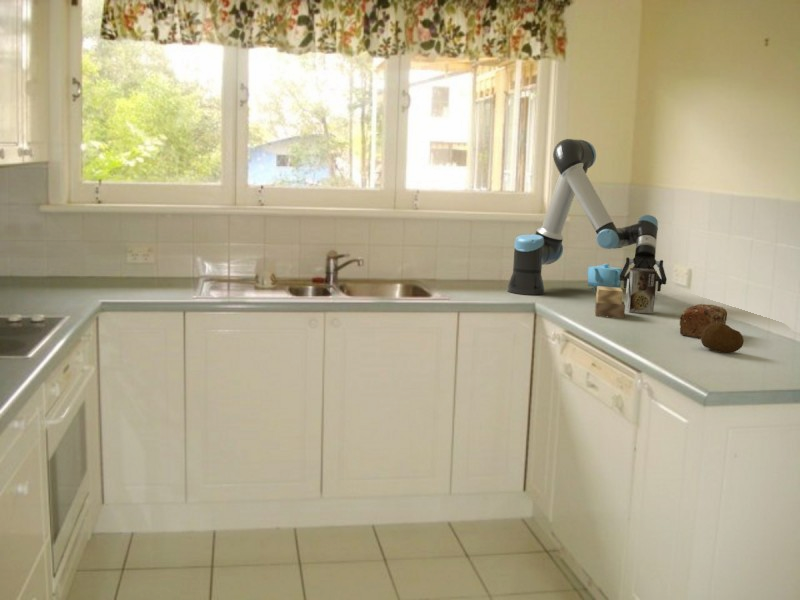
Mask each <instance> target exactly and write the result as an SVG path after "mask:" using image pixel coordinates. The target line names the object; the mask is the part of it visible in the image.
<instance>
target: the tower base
mask: <svg viewBox="0 0 800 600" xmlns="http://www.w3.org/2000/svg"><path fill="white" fill-rule="evenodd" d="M594 307H595V308H594V316H595V315H596V316H595V317H600V316H608V317H607V318H612V317H618V318H617V319H625V311H626V310H625V309H626V304H625V301H623V300H622V305H614V304H600V303H597V301H596V300H595V305H594Z"/></svg>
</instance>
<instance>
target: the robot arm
mask: <svg viewBox="0 0 800 600" xmlns="http://www.w3.org/2000/svg"><path fill="white" fill-rule="evenodd" d="M552 157H553V162H554V163H555V164H554V165H555V166H556V168H557V171H558V172H559V176H558V179H557V181H556V184H555V187H554V190H553V192H552V196H551V198H550V201H549V205H548V208H547V210H546V213H545V215H544V219H543V222H542V224H541V225H542V226H541V227H539V228H537V229H536V230H535V231H536V232H535V234H522V235H521V234H520V235H519V236H517V237H516V238H515V242H514V246H513V247H514V251H513V266H512V267H513V269H512V273H511V275H510V276H511V277H510V279H509V281H508V283H507V292H509V293H513V294H518V295H528V296H529V295H531V296H534V295H535V296H537V295H538V294H539V295H543V293H544V294H545V285H544V280H543V276H542V269H543V265H545V266H546V265H551V264H553V263H555V262H557V261H559V260H560V258H561V257H562V255H563V251H564V246H563V240H564V236H563V234H562V233H563V229H564V227H565V225H566V224H565V223H566V221H567V218H568V215H569V212H570V209H571V207H572V203H573V201H574V197H576V199H577V201H578V202H579V204H580V206H581V207H582V209H583V212H584V213H585V215H586V217H587V219H588V221H589V222H590V224H591V226H592V227H593V229H594V231H595V233H596V234H597V235H596V242H597V245H598V246H599V247H600V248H602V249H607V250H608V249H609V250H610V249H611V250H612V249H614V250H615V249H622V248H625V247H627V246H632V245H635V250H634V251H635V252H634V257H633V258H630V257H626V259H625V263H624V266H623V268H622V272H621V274H620V279H619V280H620V281H621V282H622V281H623V286H622V287H623V289H626V290H625V297H626V298H628V290H629V278H630V270H629V269H630V268H629V267H630V266H631V265H632V264H634V265H633V266H632V268H639V269H654V270H656V269H655V266H657V268H658V271H659V274H658V273H657V276H656V288H655V300H657V299H658V292H661V289H662V286H663V285H666V284H667V276H666V273H665V268H664V260H662V259H661V260H656V254H657V253H656V250H657V238H658V237H657V236H658V230H659V227H658V226H659V222H658V219H657V218H656V217H655V216H653V215H650V214H644V215H642V216H640V218H638V222H637V223H635V224H631V225H628V226H624V227H618V228H617V227H616V225H615V224H614V221H613V219H612V218H611V216H610V214H609V213H608V210H607V208H606V207H605V205H604V204H603V202H602V199H601V198H600V196H599V195H598V193H597V191H596V189H595V188H594V186H593V184H592V182H591V180H590V178H589V177H588V175H587V172H588V169H590V168H591V167H592V166H593V165H594V164H595V162H596V158H597V152H596V149H595V146H594V145H593V144H592V143H591V142H589V141H587V140H584V139H574V138H573V139H572V138H565V139H562V140H561V141H559V142H558V143H557V144H556V145H555V147H554V149H553V153H552ZM627 271H628V273H627ZM659 275H660V276H659ZM539 295H538V296H539Z"/></svg>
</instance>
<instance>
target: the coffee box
mask: <svg viewBox="0 0 800 600" xmlns="http://www.w3.org/2000/svg"><path fill="white" fill-rule="evenodd" d="M654 269H655V268H654ZM654 269H639V268H633V267H630V268H629V271H630V278H629V289H628V297H627V303H626V311H627V312H629V313H631V312H633V313H635V314H650V315H651V314H654V312H655V311H654V308H655V300H656V299H655V288H656V276H657V274H658V272H657V270H656V269H655V270H654Z"/></svg>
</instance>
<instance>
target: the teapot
mask: <svg viewBox="0 0 800 600" xmlns="http://www.w3.org/2000/svg"><path fill="white" fill-rule="evenodd" d="M622 270H623V268H621V267H614V266H610V264H609V263H603V264H602V265H593V266H588V268H587V279H588V280H587V286H589V287H593V288H592V290H593V289H597V286H603V287H617V288H621V287H622V286H621V285H622V281H620V280H619V279H620V274H621V272H622Z"/></svg>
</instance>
